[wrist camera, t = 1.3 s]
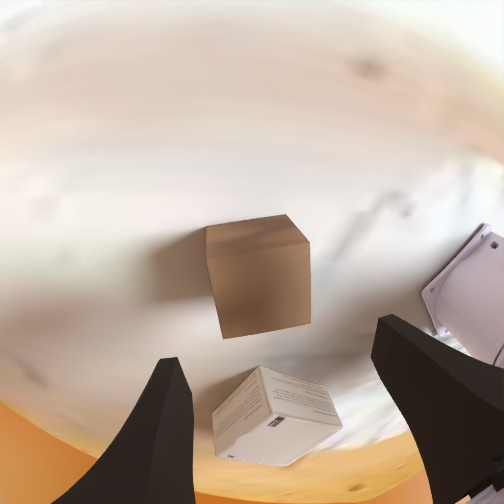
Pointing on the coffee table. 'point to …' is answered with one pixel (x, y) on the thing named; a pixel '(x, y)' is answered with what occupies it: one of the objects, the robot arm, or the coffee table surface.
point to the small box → (273, 419)
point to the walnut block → (259, 275)
